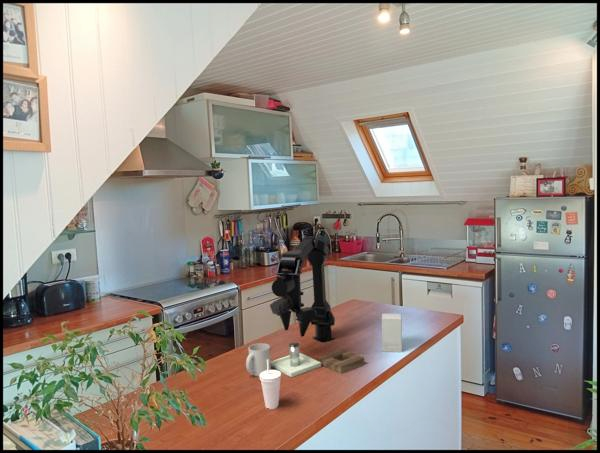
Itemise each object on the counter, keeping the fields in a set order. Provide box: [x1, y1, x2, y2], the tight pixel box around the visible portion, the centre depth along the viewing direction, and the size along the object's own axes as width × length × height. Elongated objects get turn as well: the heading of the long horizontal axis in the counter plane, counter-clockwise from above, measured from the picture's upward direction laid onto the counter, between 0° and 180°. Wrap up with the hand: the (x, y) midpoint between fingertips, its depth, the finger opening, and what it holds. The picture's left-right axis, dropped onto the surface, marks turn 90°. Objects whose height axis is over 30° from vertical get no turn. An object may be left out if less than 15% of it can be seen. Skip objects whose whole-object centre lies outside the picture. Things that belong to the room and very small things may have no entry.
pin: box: [288, 342, 300, 367], centre depth 161 cm, size 3×3×8 cm
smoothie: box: [258, 359, 282, 410], centre depth 133 cm, size 6×6×14 cm
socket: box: [319, 348, 365, 375], centre depth 161 cm, size 11×11×2 cm
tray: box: [270, 352, 322, 378], centre depth 161 cm, size 13×13×2 cm
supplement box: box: [381, 313, 403, 353], centre depth 173 cm, size 7×7×13 cm
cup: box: [245, 342, 272, 377], centre depth 156 cm, size 7×10×9 cm
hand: (294, 333), depth 160 cm, fingers open, 9 cm apart
